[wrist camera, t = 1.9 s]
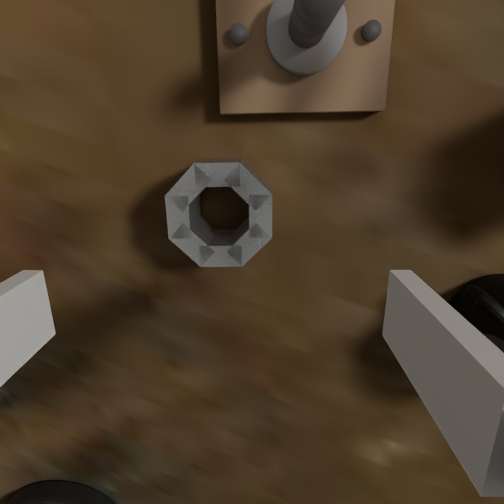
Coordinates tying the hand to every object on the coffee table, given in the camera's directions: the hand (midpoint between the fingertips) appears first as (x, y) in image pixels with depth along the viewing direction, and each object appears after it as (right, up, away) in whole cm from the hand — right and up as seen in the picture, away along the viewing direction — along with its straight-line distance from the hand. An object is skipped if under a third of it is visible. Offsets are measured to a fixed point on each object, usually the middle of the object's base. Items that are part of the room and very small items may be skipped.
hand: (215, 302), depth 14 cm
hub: (-1, +6, +16) cm, 17 cm away
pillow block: (+5, +17, +12) cm, 22 cm away
